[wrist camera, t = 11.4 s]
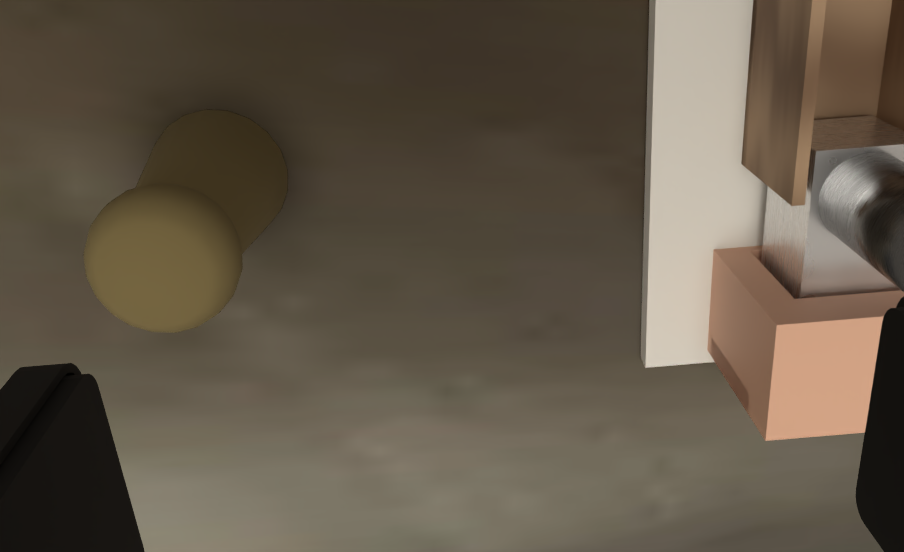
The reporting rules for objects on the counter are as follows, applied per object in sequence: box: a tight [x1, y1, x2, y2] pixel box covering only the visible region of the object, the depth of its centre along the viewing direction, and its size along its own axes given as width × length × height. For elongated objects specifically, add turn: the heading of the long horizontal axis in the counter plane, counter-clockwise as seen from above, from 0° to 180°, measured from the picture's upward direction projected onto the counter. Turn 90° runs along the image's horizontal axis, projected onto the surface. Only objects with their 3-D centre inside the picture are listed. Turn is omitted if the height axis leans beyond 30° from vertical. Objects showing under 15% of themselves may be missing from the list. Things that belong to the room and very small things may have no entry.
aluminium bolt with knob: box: [761, 116, 904, 299], centre depth 33 cm, size 10×4×11 cm, turn 4°
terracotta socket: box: [707, 245, 904, 441], centre depth 37 cm, size 5×8×8 cm, turn 94°
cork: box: [83, 110, 288, 333], centre depth 33 cm, size 6×6×11 cm
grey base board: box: [641, 0, 768, 368], centre depth 38 cm, size 20×14×1 cm
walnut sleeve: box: [741, 0, 904, 206], centre depth 33 cm, size 10×6×6 cm, turn 4°
